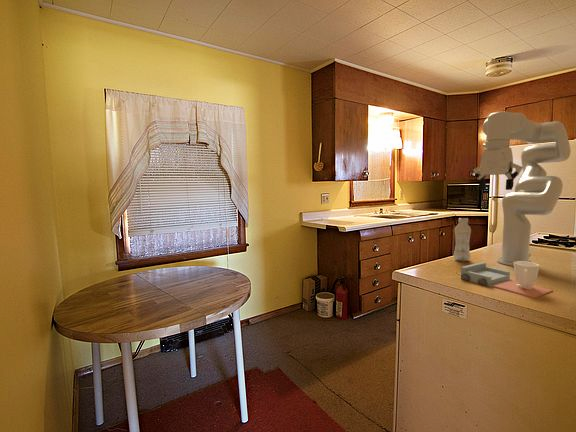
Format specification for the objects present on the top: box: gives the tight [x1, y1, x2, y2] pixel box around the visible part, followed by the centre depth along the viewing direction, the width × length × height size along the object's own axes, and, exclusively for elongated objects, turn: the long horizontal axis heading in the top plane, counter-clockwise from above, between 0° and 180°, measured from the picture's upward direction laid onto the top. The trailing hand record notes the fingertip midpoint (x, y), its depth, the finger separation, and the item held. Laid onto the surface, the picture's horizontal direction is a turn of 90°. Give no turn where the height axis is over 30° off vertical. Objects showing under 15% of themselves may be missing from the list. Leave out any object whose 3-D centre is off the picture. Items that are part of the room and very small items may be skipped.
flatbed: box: [460, 261, 511, 288], centre depth 110 cm, size 15×11×5 cm
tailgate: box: [492, 279, 554, 299], centre depth 100 cm, size 12×12×1 cm
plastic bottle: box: [453, 217, 472, 263], centre depth 136 cm, size 6×7×20 cm
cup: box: [513, 261, 541, 289], centre depth 99 cm, size 7×10×8 cm
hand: (495, 189), depth 117 cm, fingers open, 9 cm apart
